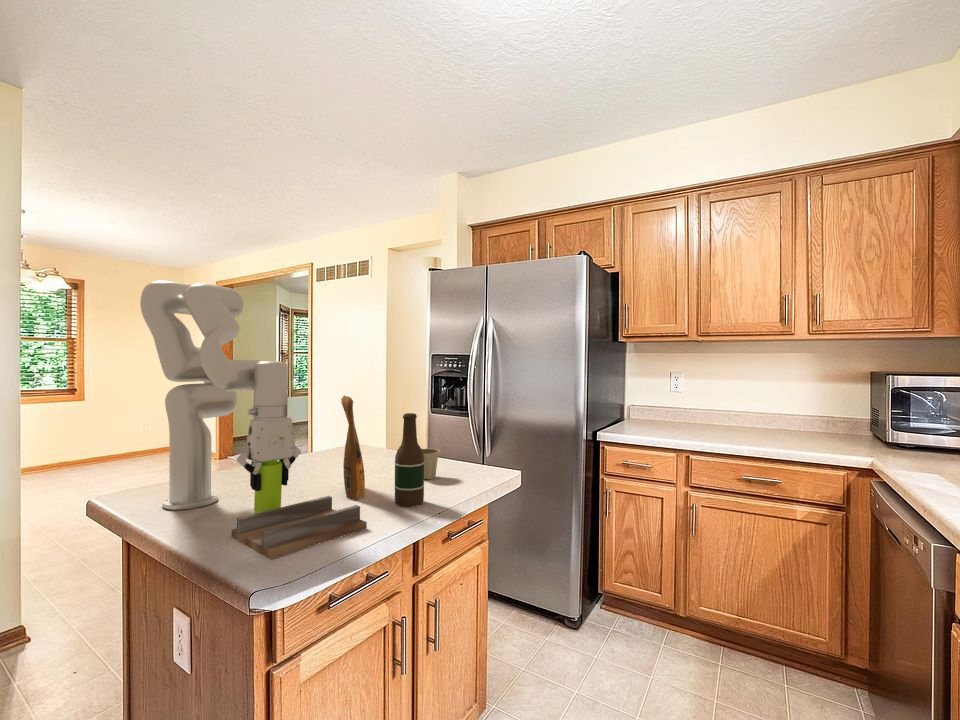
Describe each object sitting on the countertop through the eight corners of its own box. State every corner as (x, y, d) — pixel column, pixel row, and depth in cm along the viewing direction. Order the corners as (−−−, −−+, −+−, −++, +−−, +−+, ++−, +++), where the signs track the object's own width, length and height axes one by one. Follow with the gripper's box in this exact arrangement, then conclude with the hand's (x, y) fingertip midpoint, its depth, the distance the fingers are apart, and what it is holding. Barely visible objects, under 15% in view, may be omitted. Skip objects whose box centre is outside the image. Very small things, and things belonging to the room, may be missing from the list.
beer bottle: (411, 509, 121) (411, 416, 121) (388, 504, 125) (388, 414, 125) (429, 502, 127) (430, 413, 127) (407, 497, 131) (408, 411, 131)
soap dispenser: (274, 522, 110) (277, 437, 110) (248, 520, 111) (251, 435, 112) (289, 515, 116) (292, 433, 116) (264, 512, 117) (267, 432, 117)
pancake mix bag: (339, 503, 126) (340, 398, 126) (340, 485, 144) (341, 393, 144) (365, 501, 127) (366, 398, 128) (363, 483, 146) (364, 393, 146)
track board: (231, 536, 102) (231, 515, 102) (323, 511, 119) (323, 493, 119) (271, 559, 90) (271, 535, 90) (366, 528, 107) (366, 508, 107)
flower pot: (407, 480, 150) (407, 453, 150) (416, 473, 159) (416, 448, 159) (435, 481, 148) (436, 454, 148) (443, 474, 158) (443, 449, 158)
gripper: (240, 416, 104) (239, 498, 104) (311, 411, 118) (310, 483, 118) (226, 414, 109) (225, 491, 109) (296, 408, 122) (295, 477, 122)
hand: (269, 486), depth 113 cm, fingers closed on soap dispenser, 5 cm apart
